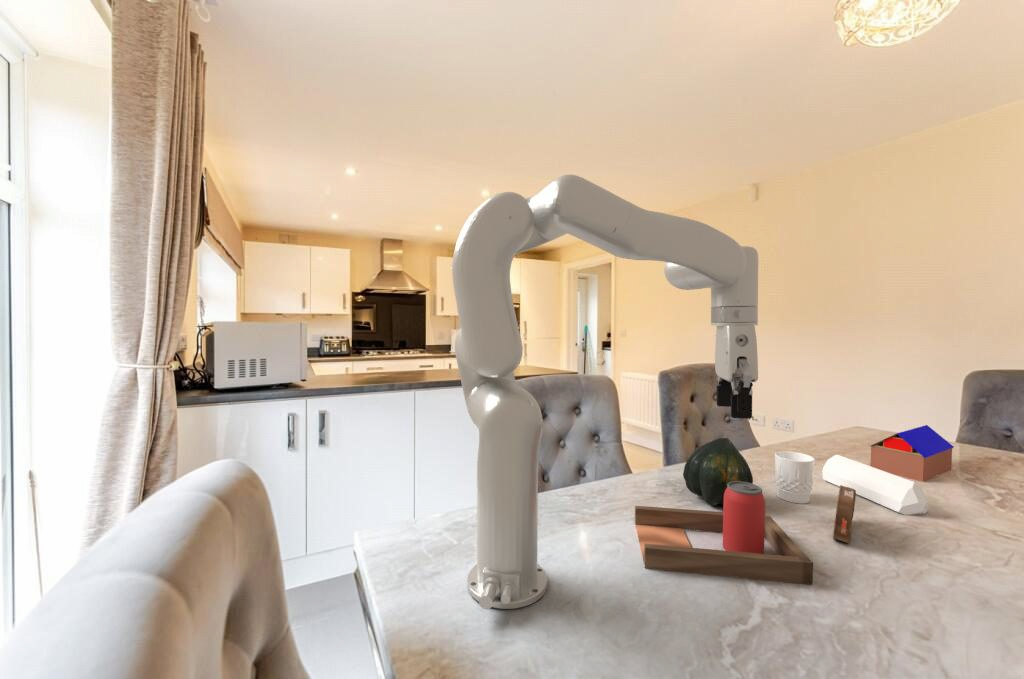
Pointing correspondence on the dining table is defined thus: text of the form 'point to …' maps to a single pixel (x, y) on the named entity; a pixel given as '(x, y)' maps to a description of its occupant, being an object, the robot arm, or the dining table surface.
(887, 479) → the crystal
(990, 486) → the dining table surface
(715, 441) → the squash
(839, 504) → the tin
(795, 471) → the white cup
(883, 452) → the house
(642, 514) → the frame
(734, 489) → the beer can
